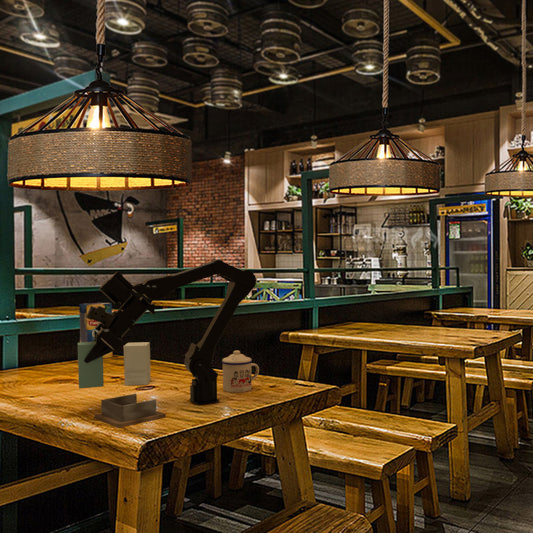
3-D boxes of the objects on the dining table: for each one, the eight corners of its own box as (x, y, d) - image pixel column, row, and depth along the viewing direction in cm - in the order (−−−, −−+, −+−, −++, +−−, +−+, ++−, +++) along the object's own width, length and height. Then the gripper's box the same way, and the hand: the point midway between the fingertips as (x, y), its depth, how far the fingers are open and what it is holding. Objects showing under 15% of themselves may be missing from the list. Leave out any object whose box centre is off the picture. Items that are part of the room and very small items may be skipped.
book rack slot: (140, 408, 156) (139, 391, 156) (165, 417, 147) (165, 399, 147) (94, 418, 147) (94, 400, 147) (118, 427, 138) (118, 408, 138)
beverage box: (112, 356, 242) (112, 303, 242) (87, 360, 235) (86, 304, 235) (104, 355, 247) (104, 302, 247) (79, 358, 240) (79, 304, 240)
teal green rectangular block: (102, 382, 156) (101, 341, 156) (103, 386, 152) (102, 343, 152) (78, 384, 154) (77, 342, 154) (79, 388, 150) (78, 345, 150)
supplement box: (151, 380, 193) (150, 341, 193) (147, 385, 186) (146, 345, 186) (128, 380, 193) (127, 342, 193) (123, 385, 186) (123, 345, 185)
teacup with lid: (230, 394, 172) (230, 354, 171) (217, 388, 179) (216, 350, 179) (266, 389, 178) (265, 350, 178) (251, 384, 185) (251, 346, 185)
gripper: (102, 293, 163) (61, 335, 159) (107, 296, 145) (60, 344, 142) (132, 320, 166) (92, 362, 162) (140, 326, 148) (95, 374, 144)
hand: (84, 360), depth 153 cm, fingers closed on teal green rectangular block, 5 cm apart
